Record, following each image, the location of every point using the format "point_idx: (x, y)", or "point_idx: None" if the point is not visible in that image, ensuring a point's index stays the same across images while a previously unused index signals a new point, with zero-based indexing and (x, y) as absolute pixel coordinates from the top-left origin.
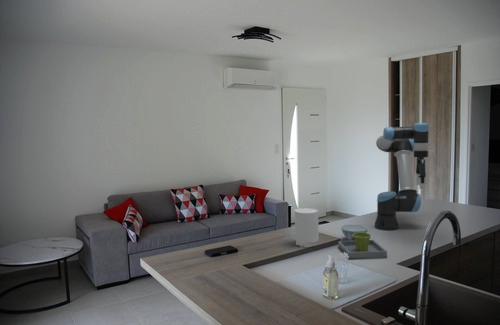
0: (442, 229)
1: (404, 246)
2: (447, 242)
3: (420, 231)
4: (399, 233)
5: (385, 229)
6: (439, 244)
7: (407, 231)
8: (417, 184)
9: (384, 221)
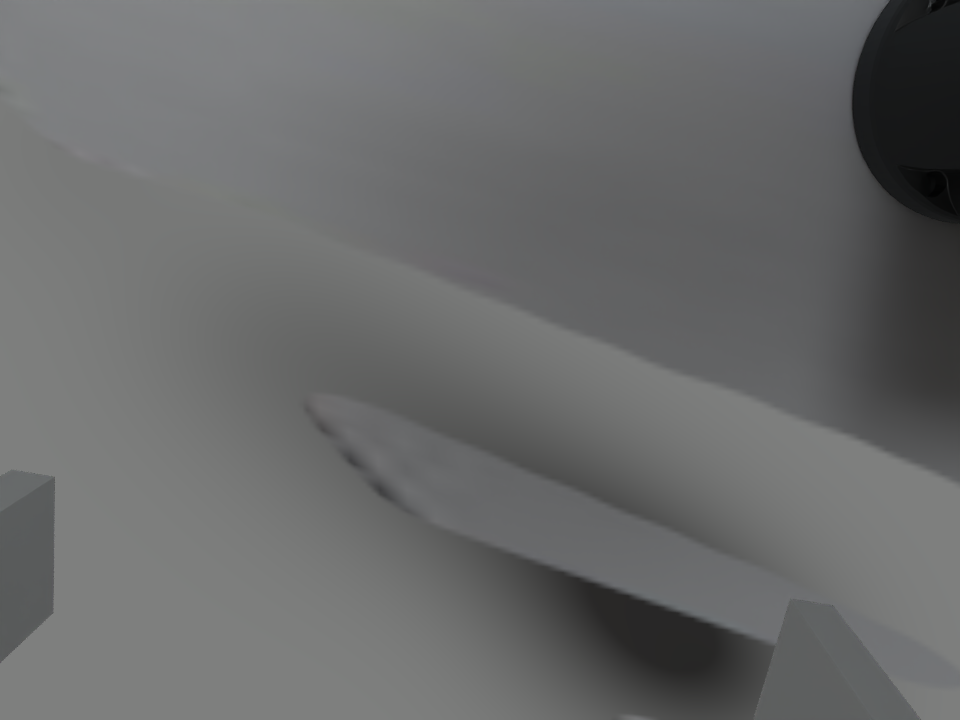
0: None
1: (286, 108)
2: (429, 515)
3: (781, 403)
4: (725, 173)
5: (867, 42)
6: (369, 434)
7: (793, 277)
8: (787, 639)
9: (947, 13)
